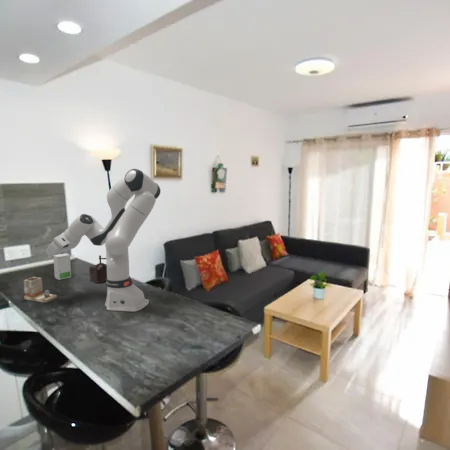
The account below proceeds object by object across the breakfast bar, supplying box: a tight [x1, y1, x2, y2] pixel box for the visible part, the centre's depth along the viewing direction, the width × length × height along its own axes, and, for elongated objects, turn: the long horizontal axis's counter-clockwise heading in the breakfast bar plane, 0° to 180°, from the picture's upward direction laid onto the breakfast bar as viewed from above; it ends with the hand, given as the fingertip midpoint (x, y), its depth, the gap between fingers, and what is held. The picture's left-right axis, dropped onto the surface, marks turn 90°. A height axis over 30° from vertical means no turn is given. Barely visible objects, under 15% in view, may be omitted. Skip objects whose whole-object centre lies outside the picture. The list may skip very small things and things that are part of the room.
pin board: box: [23, 289, 58, 304], centre depth 161 cm, size 15×7×5 cm, turn 74°
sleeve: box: [22, 276, 44, 298], centre depth 162 cm, size 6×6×9 cm
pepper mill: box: [88, 254, 107, 284], centre depth 193 cm, size 16×11×18 cm
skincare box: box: [52, 253, 72, 281], centre depth 195 cm, size 8×7×16 cm
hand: (55, 255), depth 162 cm, fingers open, 8 cm apart
